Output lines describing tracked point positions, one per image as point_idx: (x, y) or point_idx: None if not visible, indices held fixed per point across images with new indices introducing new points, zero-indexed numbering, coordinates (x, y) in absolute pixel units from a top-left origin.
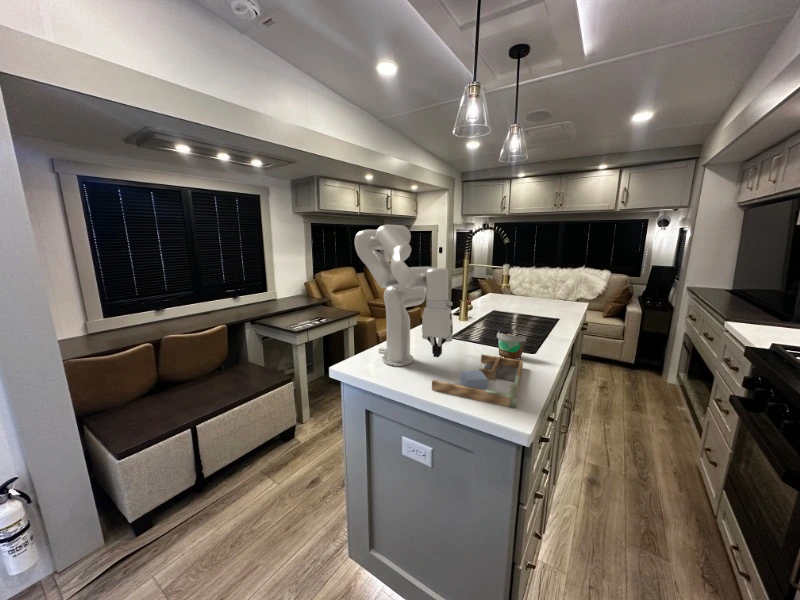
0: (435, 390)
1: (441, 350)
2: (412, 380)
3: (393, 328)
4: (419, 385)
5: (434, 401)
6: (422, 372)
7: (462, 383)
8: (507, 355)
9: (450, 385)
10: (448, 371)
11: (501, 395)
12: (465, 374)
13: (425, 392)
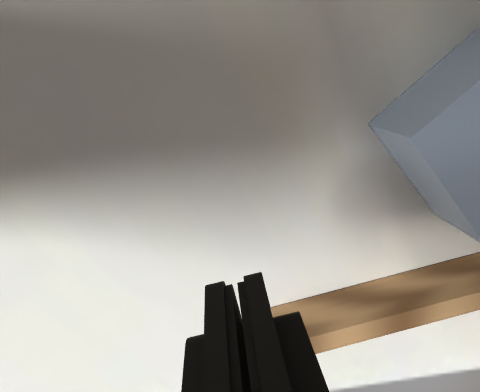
0: None
1: (311, 350)
2: (117, 309)
3: None
4: (191, 326)
5: (338, 385)
6: (74, 178)
7: (392, 156)
8: None
9: (396, 329)
10: (219, 22)
11: None
12: (457, 177)
13: None
